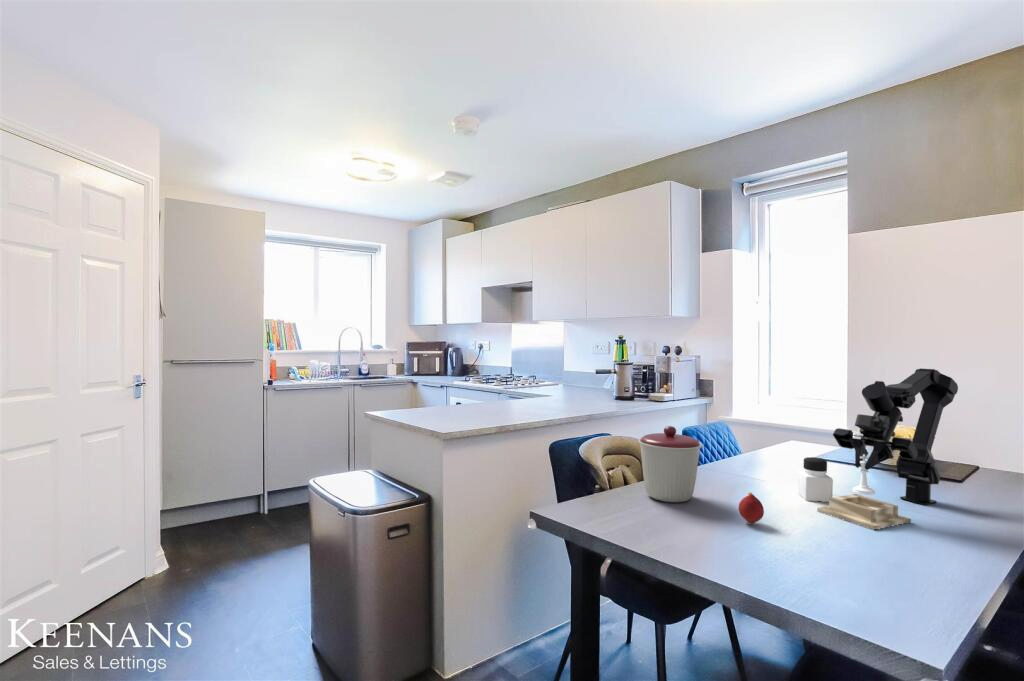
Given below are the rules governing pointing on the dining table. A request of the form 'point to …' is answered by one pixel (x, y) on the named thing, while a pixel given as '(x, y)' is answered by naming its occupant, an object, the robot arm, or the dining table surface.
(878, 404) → the robot arm
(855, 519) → the socket block
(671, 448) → the canister
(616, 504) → the dining table surface
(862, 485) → the chess piece
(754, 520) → the onion
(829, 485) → the medicine bottle
